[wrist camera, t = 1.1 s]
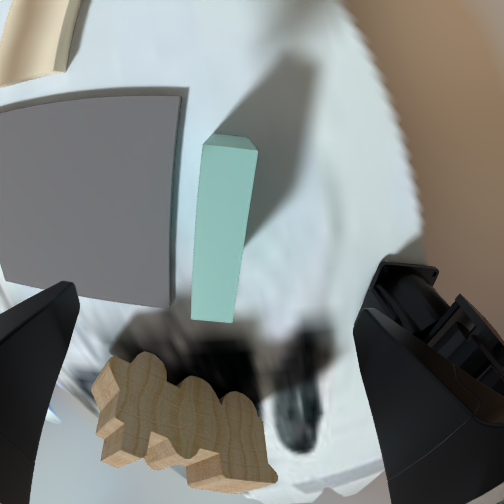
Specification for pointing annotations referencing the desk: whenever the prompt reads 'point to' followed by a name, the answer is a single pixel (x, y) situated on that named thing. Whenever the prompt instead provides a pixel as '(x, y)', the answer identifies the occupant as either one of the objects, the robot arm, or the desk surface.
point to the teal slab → (221, 224)
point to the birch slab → (36, 39)
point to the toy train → (180, 426)
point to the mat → (90, 196)
